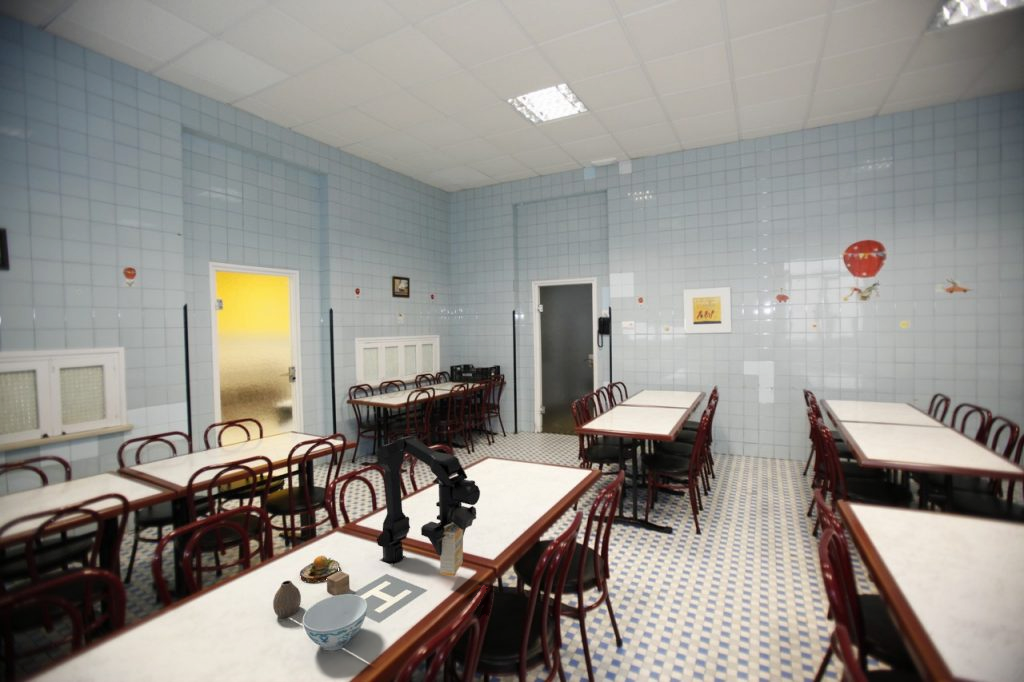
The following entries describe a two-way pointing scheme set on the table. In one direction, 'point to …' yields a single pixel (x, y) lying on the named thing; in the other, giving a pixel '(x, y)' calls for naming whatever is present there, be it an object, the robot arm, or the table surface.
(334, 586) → the walnut block
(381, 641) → the table surface
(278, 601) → the vase
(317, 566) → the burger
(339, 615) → the chinaware
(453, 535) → the supplement box
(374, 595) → the letter board
